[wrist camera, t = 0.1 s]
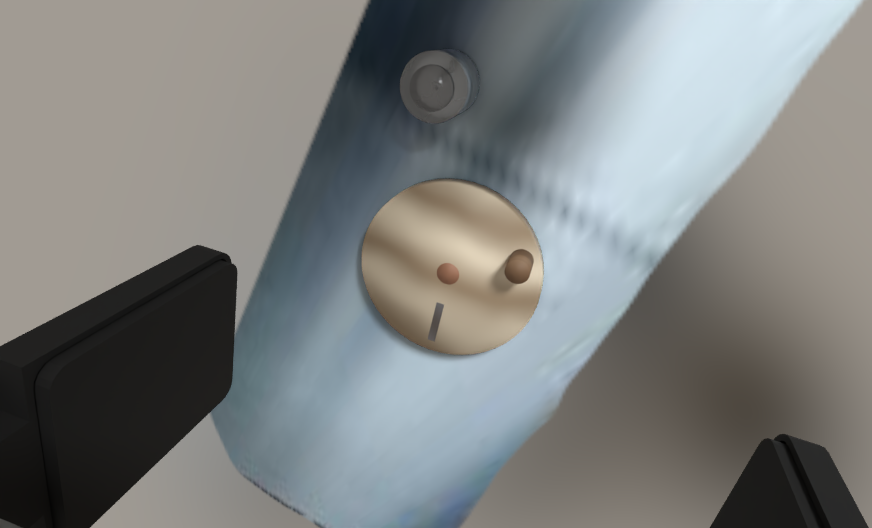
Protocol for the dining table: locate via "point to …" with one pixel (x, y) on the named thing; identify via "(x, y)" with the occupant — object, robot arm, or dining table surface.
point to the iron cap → (439, 85)
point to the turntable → (453, 266)
